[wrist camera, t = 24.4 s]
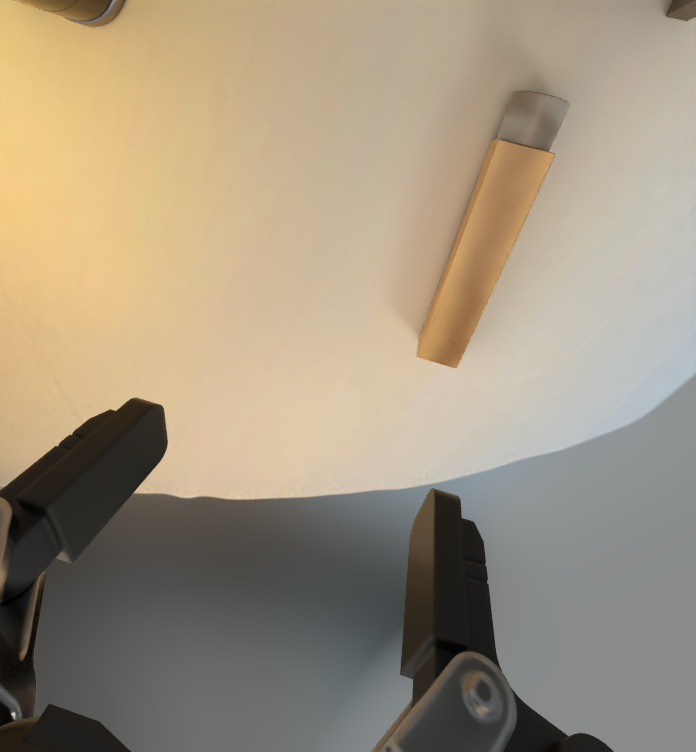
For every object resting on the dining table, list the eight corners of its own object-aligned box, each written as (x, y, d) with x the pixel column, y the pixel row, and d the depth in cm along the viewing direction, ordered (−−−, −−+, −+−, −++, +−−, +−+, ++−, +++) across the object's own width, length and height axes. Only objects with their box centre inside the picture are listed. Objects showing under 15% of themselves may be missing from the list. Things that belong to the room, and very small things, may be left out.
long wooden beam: (418, 338, 41) (416, 356, 37) (508, 93, 28) (517, 86, 25) (455, 349, 40) (456, 368, 37) (562, 107, 28) (579, 102, 24)
